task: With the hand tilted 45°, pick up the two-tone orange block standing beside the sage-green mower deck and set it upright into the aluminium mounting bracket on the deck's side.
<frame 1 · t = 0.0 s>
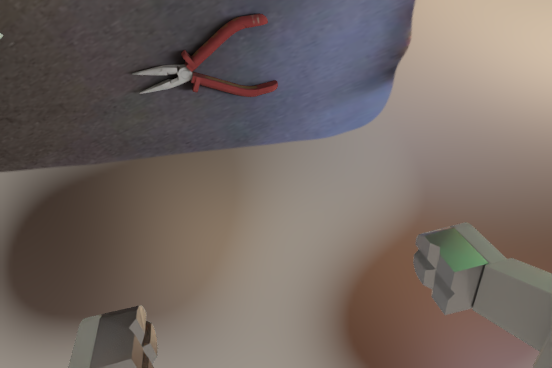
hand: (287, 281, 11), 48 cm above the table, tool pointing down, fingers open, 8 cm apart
pliers: (210, 53, 54), on the table
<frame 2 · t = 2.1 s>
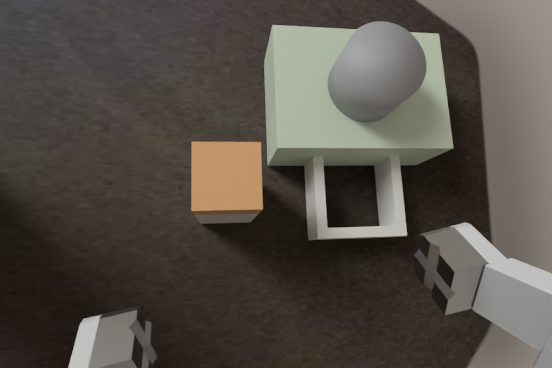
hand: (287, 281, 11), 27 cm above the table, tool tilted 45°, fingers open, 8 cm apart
two-tone orange block: (225, 198, 38), on the table
mower deck: (346, 196, 40), on the table
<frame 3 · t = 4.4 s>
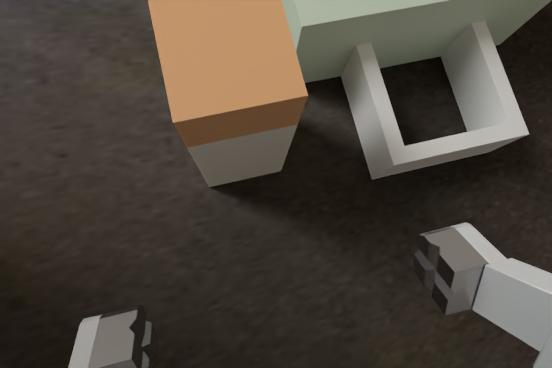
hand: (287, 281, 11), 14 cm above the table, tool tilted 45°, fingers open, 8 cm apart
two-tone orange block: (237, 144, 25), on the table
mower deck: (411, 107, 27), on the table
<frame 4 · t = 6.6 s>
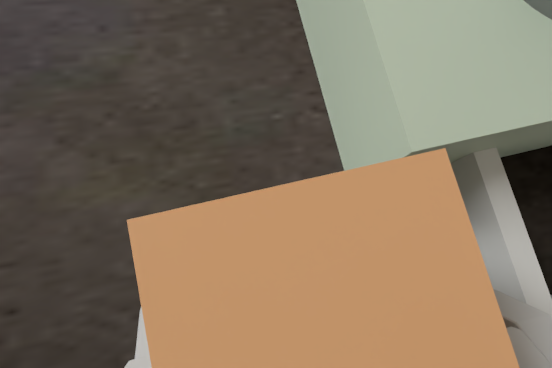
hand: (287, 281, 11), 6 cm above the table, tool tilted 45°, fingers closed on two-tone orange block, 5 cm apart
two-tone orange block: (277, 287, 17), on the table, touching gripper
mower deck: (531, 222, 18), on the table
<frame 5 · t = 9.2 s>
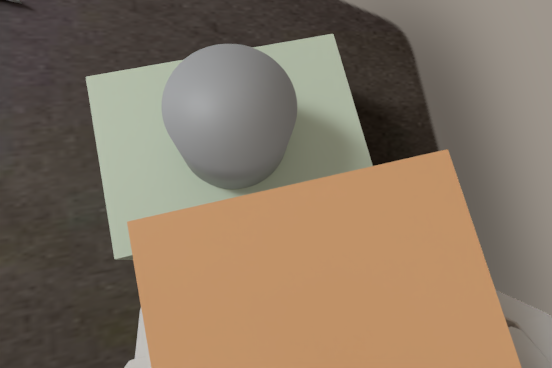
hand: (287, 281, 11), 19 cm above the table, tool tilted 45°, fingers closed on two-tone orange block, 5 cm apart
two-tone orange block: (277, 287, 17), point 13 cm above the table, touching gripper
mower deck: (262, 277, 29), on the table
when the fingers open (8 cm above the table, at t = 11.6 s): two-tone orange block drops 2 cm, resting in mower deck.
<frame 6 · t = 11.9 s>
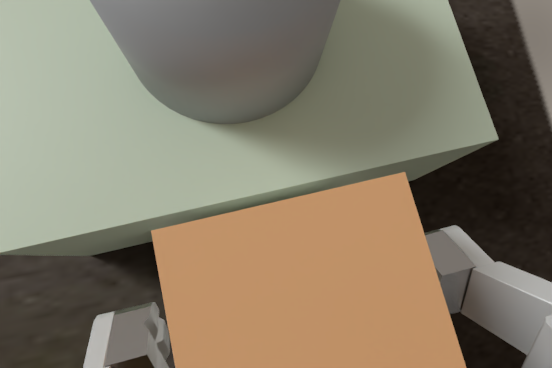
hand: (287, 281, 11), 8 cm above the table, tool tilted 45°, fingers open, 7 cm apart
two-tone orange block: (274, 285, 18), resting in mower deck
mower deck: (275, 284, 18), on the table
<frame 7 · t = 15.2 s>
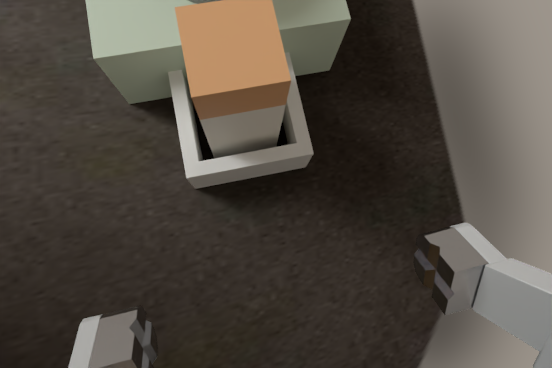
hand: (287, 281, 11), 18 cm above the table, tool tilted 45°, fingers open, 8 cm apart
two-tone orange block: (239, 126, 30), resting in mower deck
mower deck: (240, 125, 30), on the table
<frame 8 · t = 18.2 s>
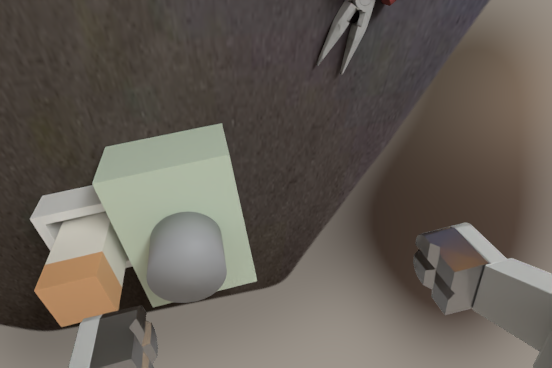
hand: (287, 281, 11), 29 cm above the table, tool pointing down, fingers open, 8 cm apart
two-tone orange block: (101, 218, 42), resting in mower deck
mower deck: (102, 218, 42), on the table
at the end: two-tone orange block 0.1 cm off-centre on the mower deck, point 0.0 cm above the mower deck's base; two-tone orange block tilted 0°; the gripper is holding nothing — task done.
